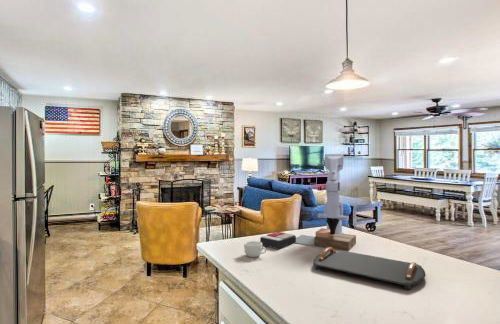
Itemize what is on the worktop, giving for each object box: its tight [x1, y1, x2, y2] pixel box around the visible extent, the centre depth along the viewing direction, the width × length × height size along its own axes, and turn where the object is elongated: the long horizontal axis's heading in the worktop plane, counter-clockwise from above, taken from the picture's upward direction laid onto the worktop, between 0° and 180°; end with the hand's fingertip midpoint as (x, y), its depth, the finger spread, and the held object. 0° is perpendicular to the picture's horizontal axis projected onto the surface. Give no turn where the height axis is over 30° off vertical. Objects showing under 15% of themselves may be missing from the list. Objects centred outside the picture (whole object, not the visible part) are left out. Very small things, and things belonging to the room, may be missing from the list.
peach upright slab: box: [315, 227, 332, 238], centre depth 158 cm, size 9×6×2 cm, turn 149°
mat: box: [293, 234, 315, 247], centre depth 163 cm, size 16×12×1 cm
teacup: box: [243, 240, 267, 258], centre depth 138 cm, size 10×8×5 cm
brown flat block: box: [313, 233, 357, 252], centre depth 155 cm, size 14×16×4 cm
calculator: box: [259, 231, 297, 250], centre depth 156 cm, size 11×4×15 cm
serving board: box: [312, 247, 427, 291], centre depth 121 cm, size 39×23×6 cm, turn 53°
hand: (332, 234), depth 156 cm, fingers closed
